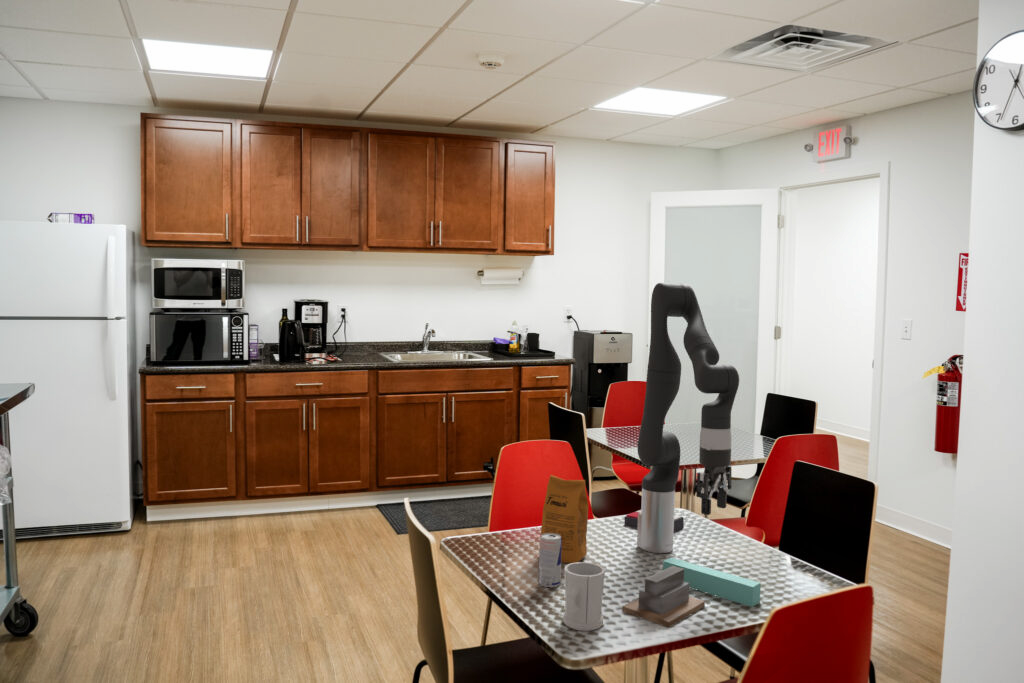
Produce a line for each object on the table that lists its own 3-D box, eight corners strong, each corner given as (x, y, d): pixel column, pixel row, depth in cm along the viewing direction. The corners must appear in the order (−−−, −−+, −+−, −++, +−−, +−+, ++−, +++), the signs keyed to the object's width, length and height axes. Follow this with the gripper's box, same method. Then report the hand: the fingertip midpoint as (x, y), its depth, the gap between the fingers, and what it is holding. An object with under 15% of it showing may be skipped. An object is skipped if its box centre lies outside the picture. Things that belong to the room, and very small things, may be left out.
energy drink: (563, 581, 191) (564, 534, 190) (557, 589, 186) (558, 540, 185) (542, 578, 193) (543, 531, 192) (536, 586, 188) (537, 538, 187)
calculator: (642, 507, 249) (684, 514, 239) (642, 520, 249) (684, 528, 239) (623, 514, 241) (666, 521, 231) (623, 527, 241) (666, 536, 231)
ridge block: (622, 611, 174) (623, 575, 173) (659, 592, 186) (660, 558, 185) (668, 627, 166) (670, 590, 165) (704, 606, 178) (705, 571, 177)
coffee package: (552, 547, 217) (554, 470, 216) (591, 556, 210) (594, 477, 209) (534, 557, 209) (536, 477, 207) (574, 567, 202) (577, 484, 201)
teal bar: (662, 580, 195) (663, 561, 194) (670, 576, 197) (671, 557, 197) (752, 608, 178) (753, 587, 178) (759, 603, 181) (760, 582, 181)
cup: (608, 634, 162) (610, 579, 161) (565, 635, 161) (567, 579, 160) (599, 614, 172) (600, 561, 171) (558, 614, 171) (560, 561, 171)
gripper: (714, 440, 197) (712, 503, 198) (687, 447, 186) (686, 513, 187) (742, 444, 192) (740, 508, 193) (716, 451, 181) (715, 519, 182)
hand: (713, 510), depth 190 cm, fingers open, 8 cm apart
